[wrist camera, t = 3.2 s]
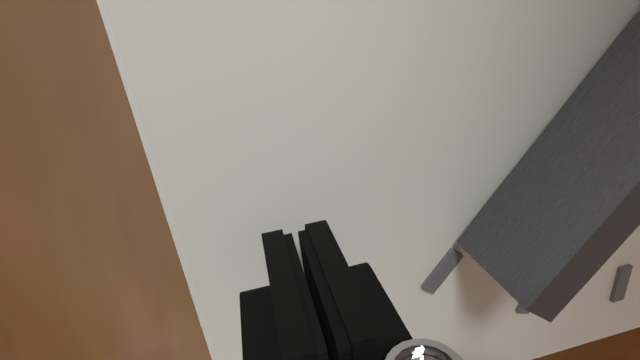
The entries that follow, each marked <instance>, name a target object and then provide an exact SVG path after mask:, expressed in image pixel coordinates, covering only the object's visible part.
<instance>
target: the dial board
mask: <svg viewBox="0 0 640 360" xmlns="http://www.w3.org/2000/svg"><path fill="white" fill-rule="evenodd" d="M97 3H98V7H99V10H100V13H101V16H102V19H103V22H104V25H105V28H106V31H107V35H108V38H109V41H110V44H111V47H112V50H113V53H114V56H115V59H116V63H117V66H118V69H119V72H120V75H121V78H122V81H123V84H124V87H125V91H126V94H127V97H128V100H129V103H130V106H131V109H132V112H133V115H134V119H135V122H136V125H137V128H138V131H139V134H140V137H141V140H142V143H143V147H144V150H145V153H146V156H147V159H148V162H149V165H150V168H151V171H152V175H153V178H154V181H155V184H156V187H157V190H158V193H159V196H160V199H161V203H162V206H163V209H164V212H165V215H166V218H167V221H168V224H169V227H170V230H171V234H172V237H173V240H174V243H175V246H176V249H177V252H178V255H179V258H180V262H181V265H182V268H183V271H184V274H185V277H186V280H187V283H188V286H189V290H190V293H191V296H192V299H193V302H194V305H195V308H196V311H197V314H198V318H199V321H200V324H201V327H202V330H203V333H204V336H205V339H206V342H207V346H208V349H209V352H210V355H211V358H212V360H243V356H242V337H241V318H240V295H239V294H240V292H243V291H248V290H252V289H256V288H260V287H264V286H269V285H270V284H269V278H268V272H267V266H266V260H265V254H264V248H263V242H262V236H261V234H262V233H267V232H271V231H276V230H281V229H282V230H283V234H289V233H292V236H293V239H294V242H295V245H296V249H297V252H298V255H299V258H300V262H301V265H302V268H303V262H302V256H301V250H300V244H299V237H298V231H302V230H305V224H308V223H313V222H318V221H322V220H326V221H327V223H328V225H329V227H330V229H331V231H332V233H333V235H334V237H335V239H336V241H337V243H338V245H339V247H340V249H341V251H342V253H343V255H344V257H345V259H346V261H347V263H348V265H349V266H353V265H357V264H361V263H365V262H367V263H368V264H369V265H370V266H371V268H372V270H373V271H374V273H375V275H376V276H377V278H378V280H379V282H380V283H381V285H382V287H383V288H384V290H385V292H386V294H387V295H388V297H389V299H390V300H391V302H392V304H393V306H394V307H395V309H396V311H397V312H398V314H399V316H400V318H401V319H402V321H403V323H404V324H405V326H406V328H407V330H408V331H409V333H410V335H411V336H412V338H413V339H429V340H434V341H438V342H440V343H442V344H444V345H446V346H448V347H450V348H451V349H452V350H453V351H455V352H456V353H457V354H458V355H459V356H460V357H461V358H462V359H463V360H532V359H536V358H539V357H542V356H546V355H549V354H552V353H555V352H559V351H562V350H565V349H569V348H572V347H575V346H579V345H582V344H585V343H589V342H592V341H595V340H599V339H602V338H605V337H609V336H612V335H615V334H618V333H622V332H625V331H628V330H632V329H635V328H638V327H640V225H639V226H638V227H637V228H636V229H635V231H634V232H633V233H632V234H631V235H630V236H629V237H628V238H627V239H626V240H625V242H624V243H623V244H622V245H621V246H620V247H619V248H618V249H617V250H616V251H615V253H614V254H613V255H612V256H611V257H610V258H609V259H608V260H607V261H606V262H605V264H604V265H603V266H602V267H601V268H600V269H599V270H598V271H597V272H596V273H595V275H594V276H593V277H592V278H591V279H590V280H589V281H588V282H587V283H586V284H585V286H584V287H583V288H582V289H581V290H580V291H579V292H578V293H577V294H576V295H575V297H574V298H573V299H572V300H571V301H570V302H569V303H568V304H567V305H566V306H565V308H564V309H563V310H562V311H561V312H560V313H559V314H558V315H557V316H556V317H555V319H554V320H553V321H552V322H549V321H547V320H545V319H543V318H541V317H539V316H537V315H535V314H533V313H531V312H529V311H527V310H525V309H524V308H523V307H522V306H521V305H520V304H519V303H518V302H517V301H516V300H515V299H514V298H513V297H512V296H511V295H510V294H509V293H508V292H507V291H506V290H505V289H504V288H503V287H502V286H501V285H500V284H499V283H498V282H497V281H496V280H495V279H494V278H493V277H491V276H490V275H489V274H488V273H487V272H486V271H485V270H484V269H483V268H482V267H481V266H480V265H479V264H478V263H477V262H476V261H475V260H474V259H473V258H472V257H471V256H470V255H469V254H468V253H467V252H466V251H465V250H464V249H463V248H462V247H461V246H460V245H459V244H458V243H457V241H458V239H459V238H460V237H461V236H462V234H463V233H464V232H465V230H466V229H467V228H468V227H469V225H470V224H471V223H472V222H473V220H474V219H475V218H476V217H477V215H478V214H479V213H480V211H481V210H482V209H483V208H484V206H485V205H486V204H487V203H488V201H489V200H490V199H491V197H492V196H493V195H494V194H495V192H496V191H497V190H498V189H499V187H500V186H501V185H502V183H503V182H504V181H505V180H506V178H507V177H508V176H509V175H510V173H511V172H512V171H513V170H514V168H515V167H516V166H517V164H518V163H519V162H520V161H521V159H522V158H523V157H524V156H525V154H526V153H527V152H528V150H529V149H530V148H531V147H532V145H533V144H534V143H535V142H536V140H537V139H538V138H539V137H540V135H541V134H542V133H543V131H544V130H545V129H546V128H547V126H548V125H549V124H550V123H551V121H552V120H553V119H554V117H555V116H556V115H557V114H558V112H559V111H560V110H561V109H562V107H563V106H564V105H565V104H566V102H567V101H568V100H569V98H570V97H571V96H572V95H573V93H574V92H575V91H576V90H577V88H578V87H579V86H580V84H581V83H582V82H583V81H584V79H585V78H586V77H587V76H588V74H589V73H590V72H591V70H592V69H593V68H594V67H595V65H596V64H597V63H598V62H599V60H600V59H601V58H602V57H603V55H604V54H605V53H606V51H607V50H608V49H609V48H610V46H611V45H612V44H613V43H614V41H615V40H616V39H617V37H618V36H619V35H620V34H621V32H622V31H623V30H624V29H625V27H626V26H627V25H628V24H629V22H630V21H631V20H632V18H633V17H634V16H635V15H636V13H637V12H638V11H639V10H640V0H97ZM303 271H304V269H303Z"/></svg>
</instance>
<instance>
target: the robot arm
mask: <svg viewBox="0 0 640 360" xmlns="http://www.w3.org/2000/svg"><path fill="white" fill-rule="evenodd" d="M261 236H262V242H263V248H264V254H265V260H266V266H267V272H268V278H269V284H270V285H269V286H264V287H260V288H256V289H252V290H248V291H243V292H240V294H239V295H240V318H241V337H242V356H243V360H463V359H462V358H461V357H460V356H459V355H458V354H457V353H456V352H455V351H453V350H452V349H451V348H450V347H448V346H446V345H444V344H442V343H440V342H438V341H434V340H429V339H413V338H412V336H411V335H410V333H409V331H408V330H407V328H406V326H405V324H404V323H403V321H402V319H401V318H400V316H399V314H398V312H397V311H396V309H395V307H394V306H393V304H392V302H391V300H390V299H389V297H388V295H387V294H386V292H385V290H384V288H383V287H382V285H381V283H380V282H379V280H378V278H377V276H376V275H375V273H374V271H373V270H372V268H371V266H370V265H369V264H368V263H367V262H365V263H361V264H357V265H353V266H349V265H348V263H347V261H346V259H345V257H344V255H343V253H342V251H341V249H340V247H339V245H338V243H337V241H336V239H335V237H334V235H333V233H332V231H331V229H330V227H329V225H328V223H327V221H326V220H322V221H318V222H313V223H308V224H305V230H302V231H298V237H299V244H300V250H301V256H302V262H303V268H302V265H301V262H300V258H299V255H298V252H297V249H296V245H295V242H294V239H293V236H292V233H289V234H283V230H282V229H281V230H276V231H271V232H267V233H262V234H261ZM303 269H304V271H303Z"/></svg>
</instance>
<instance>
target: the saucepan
mask: <svg viewBox="0 0 640 360" xmlns="http://www.w3.org/2000/svg"><path fill="white" fill-rule="evenodd" d="M639 225H640V10H639V11H638V12H637V13H636V15H635V16H634V17H633V18H632V20H631V21H630V22H629V24H628V25H627V26H626V27H625V29H624V30H623V31H622V32H621V34H620V35H619V36H618V37H617V39H616V40H615V41H614V43H613V44H612V45H611V46H610V48H609V49H608V50H607V51H606V53H605V54H604V55H603V57H602V58H601V59H600V60H599V62H598V63H597V64H596V65H595V67H594V68H593V69H592V70H591V72H590V73H589V74H588V76H587V77H586V78H585V79H584V81H583V82H582V83H581V84H580V86H579V87H578V88H577V90H576V91H575V92H574V93H573V95H572V96H571V97H570V98H569V100H568V101H567V102H566V104H565V105H564V106H563V107H562V109H561V110H560V111H559V112H558V114H557V115H556V116H555V117H554V119H553V120H552V121H551V123H550V124H549V125H548V126H547V128H546V129H545V130H544V131H543V133H542V134H541V135H540V137H539V138H538V139H537V140H536V142H535V143H534V144H533V145H532V147H531V148H530V149H529V150H528V152H527V153H526V154H525V156H524V157H523V158H522V159H521V161H520V162H519V163H518V164H517V166H516V167H515V168H514V170H513V171H512V172H511V173H510V175H509V176H508V177H507V178H506V180H505V181H504V182H503V183H502V185H501V186H500V187H499V189H498V190H497V191H496V192H495V194H494V195H493V196H492V197H491V199H490V200H489V201H488V203H487V204H486V205H485V206H484V208H483V209H482V210H481V211H480V213H479V214H478V215H477V217H476V218H475V219H474V220H473V222H472V223H471V224H470V225H469V227H468V228H467V229H466V230H465V232H464V233H463V234H462V236H461V237H460V238H459V239H458V241H457V243H458V244H459V245H460V246H461V247H462V248H463V249H464V250H465V251H466V252H467V253H468V254H469V255H470V256H471V257H472V258H473V259H474V260H475V261H476V262H477V263H478V264H479V265H480V266H481V267H482V268H483V269H484V270H485V271H486V272H487V273H488V274H489V275H490V276H491V277H493V278H494V279H495V280H496V281H497V282H498V283H499V284H500V285H501V286H502V287H503V288H504V289H505V290H506V291H507V292H508V293H509V294H510V295H511V296H512V297H513V298H514V299H515V300H516V301H517V302H518V303H519V304H520V305H521V306H522V307H523V308H524V309H525V310H527V311H529V312H531V313H533V314H535V315H537V316H539V317H541V318H543V319H545V320H547V321H549V322H552V321H553V320H554V319H555V317H556V316H557V315H558V314H559V313H560V312H561V311H562V310H563V309H564V308H565V306H566V305H567V304H568V303H569V302H570V301H571V300H572V299H573V298H574V297H575V295H576V294H577V293H578V292H579V291H580V290H581V289H582V288H583V287H584V286H585V284H586V283H587V282H588V281H589V280H590V279H591V278H592V277H593V276H594V275H595V273H596V272H597V271H598V270H599V269H600V268H601V267H602V266H603V265H604V264H605V262H606V261H607V260H608V259H609V258H610V257H611V256H612V255H613V254H614V253H615V251H616V250H617V249H618V248H619V247H620V246H621V245H622V244H623V243H624V242H625V240H626V239H627V238H628V237H629V236H630V235H631V234H632V233H633V232H634V231H635V229H636V228H637V227H638V226H639Z"/></svg>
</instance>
